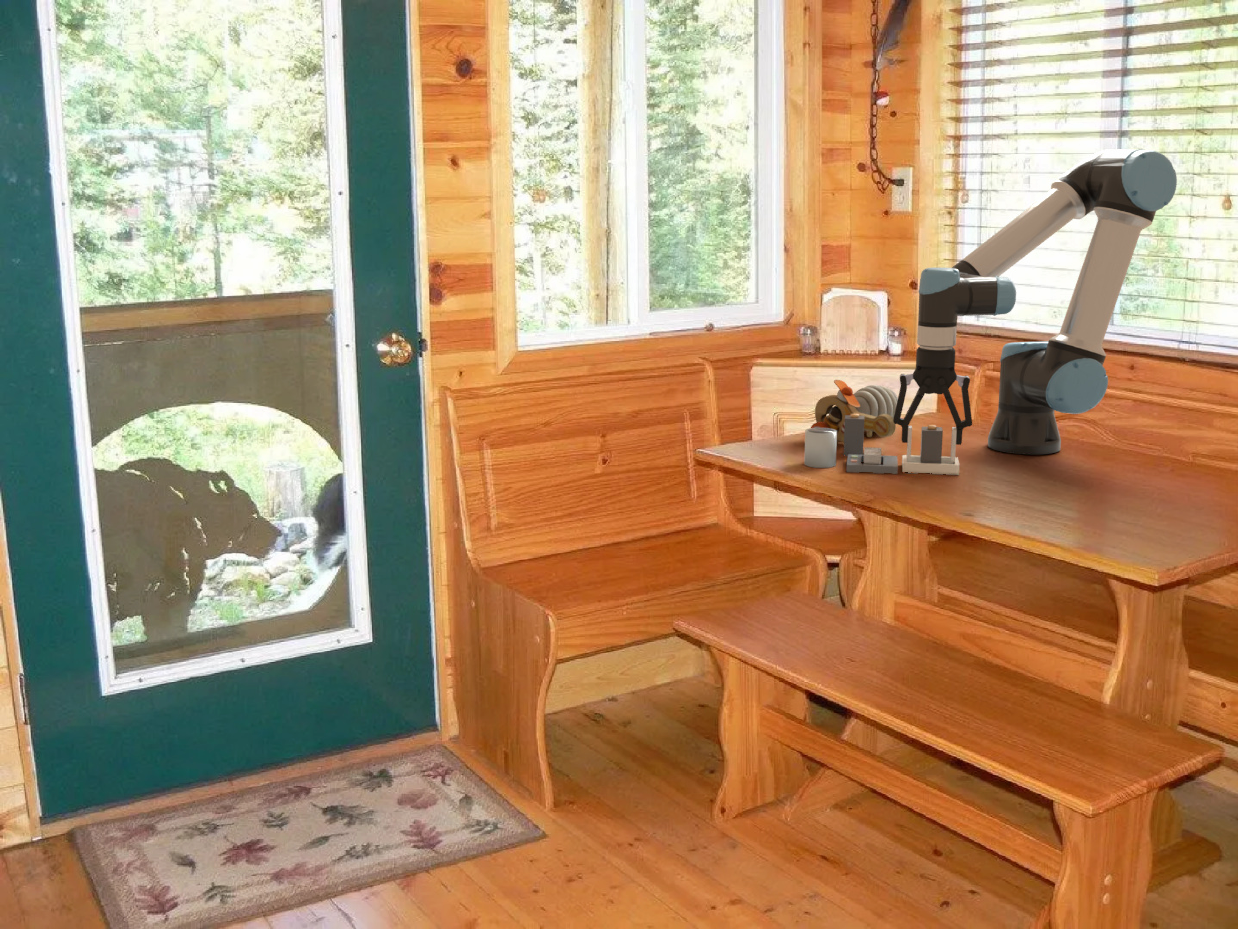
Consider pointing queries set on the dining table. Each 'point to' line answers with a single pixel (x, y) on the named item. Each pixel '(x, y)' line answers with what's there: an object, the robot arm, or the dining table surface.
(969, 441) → the dining table surface
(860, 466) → the base
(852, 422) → the block
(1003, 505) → the dining table surface
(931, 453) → the cell
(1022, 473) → the dining table surface
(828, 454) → the cup
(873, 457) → the grey rectangular block
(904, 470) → the trough
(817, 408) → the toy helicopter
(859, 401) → the grey ribbed rounded cylinder
